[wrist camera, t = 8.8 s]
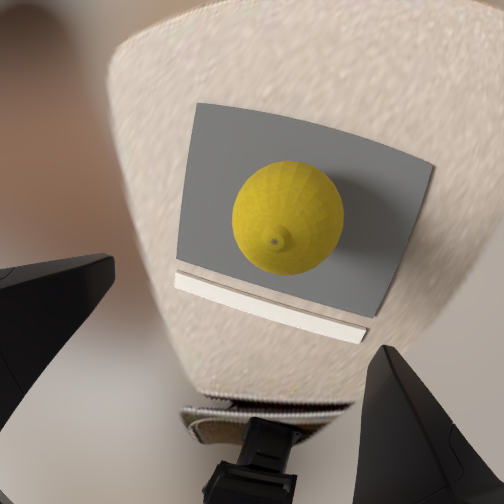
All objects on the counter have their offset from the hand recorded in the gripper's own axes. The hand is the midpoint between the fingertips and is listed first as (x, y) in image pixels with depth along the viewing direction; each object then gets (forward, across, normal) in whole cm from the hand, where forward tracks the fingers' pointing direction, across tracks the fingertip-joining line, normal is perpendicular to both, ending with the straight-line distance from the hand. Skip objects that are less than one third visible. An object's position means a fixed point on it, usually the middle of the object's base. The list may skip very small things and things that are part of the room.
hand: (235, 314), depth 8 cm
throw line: (+12, 0, +8) cm, 14 cm away
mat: (+12, 0, 0) cm, 12 cm away
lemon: (+12, 0, -1) cm, 12 cm away
